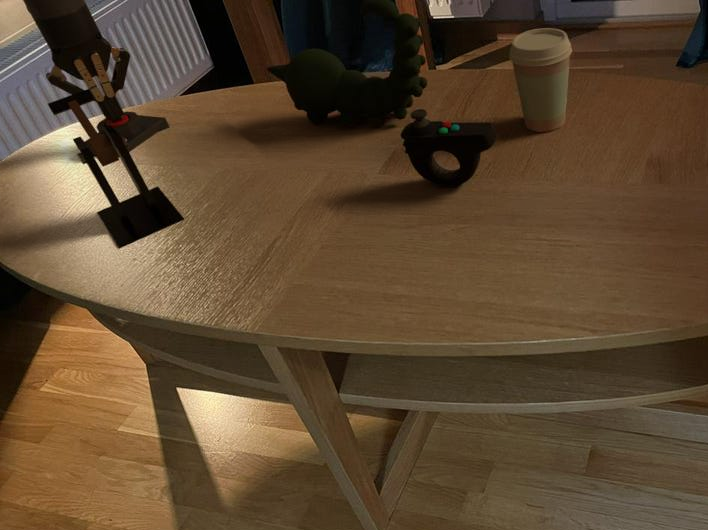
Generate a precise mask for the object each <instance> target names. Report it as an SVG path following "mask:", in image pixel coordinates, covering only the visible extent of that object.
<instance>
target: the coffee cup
mask: <svg viewBox="0 0 708 530" xmlns="http://www.w3.org/2000/svg"><path fill="white" fill-rule="evenodd" d="M572 52H573V48H572V43H571V41H570V40H569V37H568V34H567V33H566V31H564V30H561V29H560V28H559V29H558V28H553V27H545V28H544V27H542V28H534V29H530V30H526V31H523V32H520V33H519V34H517V35H515V36H514V37H513V39H512V41H511V45H510V49H509V55H508V56H509V57H508V58H509V60H510V61H511V63H512V67H513V68H512V69H513V71H514V72H513V73H514V77H515V82H516V87H517V92H518V96H519V101H520V106H521V110H522V115H523V119H524V123H525V127H526V128H527V129H528V130H530V131H532V132H537V133H546V132H552V131H555V130H558V129H559V128H561V127H563V125H564V124H565V123H566V115H567V100H568V85H569V73H570V72H569V70H570V57H571V56H570V55H572Z"/></svg>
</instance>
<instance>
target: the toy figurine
mask: <svg viewBox="0 0 708 530" xmlns="http://www.w3.org/2000/svg"><path fill="white" fill-rule="evenodd" d="M358 13H359V14H358V15H359V17H360V18H364V17H365V16H367V15H368V14H374V15H378V16H379V17H380V18H382V19H383V20H385V21H388V22H394V24H393V29H394V33H395V35H394V37H393V40H392V46H393V50H394V54H393V56H392V59H391V66H392V68H391V70H390V71H389V74H388V76H386V77H381V76H370V77H367V76H366V74H364V73H363V72H361V71H359V70H355V69H346V67H345V65H344V64H343V62H342V61H341V60H340V59H339V58H338V57H337V56H336V55H334V54H333V53H331V52H329V51H327V50H324V49H321V48H309V49H308V48H307V49H304V50H302V51H300V52H299V53H297V54H296V55H294V57H293V58H291V60H290V61H289V63H286V64H280V65H279V64H278V65H269V66H267V67H266V70H267V71H268V72H269V73H270V74H271V75H273V77H276V78H277V79H279V80H280V81H281V82H283V83H285V87H286V90H287V93H288V95H289V97H290V99H291V101H292V102H293V105H294V108H295V109H296V110H297V111H304V112H305V113H306V115H305V116H306V119H307V120H308V121H309V122H310V123H311V124H314V125H319V124H323V123H324V122H326V120H327V119H328V117H329V114H331V113H334V112H335V111H337V112H338V113H339V116H338V119H339V121H340V123H341V124H342V125H343V126H346V127H351V126H354V125H355V122H356V120H357V119H358V118H357V117H360V116H363V115H364V116H365V117H367V118H368V123H369V125H370V126H371V127H372V128H379V127H381V125H382V123H383V119H385V118H387V117H388V116H390V115H391V114H392V113H393V116H394V118H395V119H397V120H400V121H401V120H404V119H405V118H406V116H407V114H408V108H411V107H412V106H413V104H414V102H415V101H414V99H413V97H414V98H420V97H421V96H423V95H424V94H423V93H424V90H425V89H426V88H427V86H428V80H427V79H426V77H424V76H420V73H421V68H422V66H424V65H425V64H426V63H427V59H426V57H425V56H424V55H422V54H419V53H420V51H421V50H420V49H421V46H422V45H423V44H424V41H425V40H424V37H423V35H421V34H418V33H419V29H420V28H421V27H422V20H421V19H420V18H419V17H415V16H414V15H413V14H411V13H407V12H405V13H401V14H400V10H399V7H398V6H397V4H396V3H395V2H394V1H392V0H366V1H365V2H364V3H363V4H362V5H361V7H360V9H359V12H358Z"/></svg>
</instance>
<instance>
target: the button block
mask: <svg viewBox="0 0 708 530" xmlns="http://www.w3.org/2000/svg"><path fill="white" fill-rule="evenodd" d="M123 115H127V116H128V118H129V121H127V122H126V123H124V124H122V125H119V126H115V127H114V129H115V130H116V131H117V132H118V133H119V135H120V136H121V137H122V136H124V138H125V139H126V141H127V143H128V145H129V147H126V148H127V149H128V151H129V153H130V152H132V151H134V150H135V149H136V148H137V147H139V146H140V145H142V144H143V143H144V142H146V141H148V140H149V139H150V138H152V137H153V136H154V135H156V134H157V133H159V132H162V131H165V130H167V129H170V128H171V127H170V125H169V122H168V121H167V118H166V117H161V116H151V115H141V114H138V113H137V112H136V111H123ZM107 120H108V119H106V118H105V117H104V118H103V119H102V120H100V121H99V122H98V123H97V125H96V127H95V129H96V130H97V133H98V134H99V135H101V134H105V136H106V137H107V139H108V140H109V142H110V143H111V145H112V146H113V144H112V142H111V140H110V138H109V136H108V135H107V133H106V131H105V129H104V127H106V121H107ZM88 139H90V138H88ZM88 139H86V140H85V141H84V142H85V143H86V145H87V146H88V148H89V149H90V151H91V153H92V155H93V156H94V158H97V157H96V156H95V154H94V152H93V150H92V149H91V147H90V145H89V143H88V141H87V140H88ZM113 148H114V150H115V152H116V154H117V156H118V158H120V157H119V155H118V153H117V151H116V149H115V147H114V146H113Z"/></svg>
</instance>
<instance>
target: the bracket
mask: <svg viewBox="0 0 708 530" xmlns="http://www.w3.org/2000/svg"><path fill="white" fill-rule="evenodd" d="M104 129H105V131H106V133H107V135H108V136H109V138H110V140H111V142H112V144H113V146H114V147H115V149H116V151H117V153H118V155H119V157H118V158H119V160H121V162H122V164H123V166H124V167H125V170H126V171H127V173H128V175H129V177H130V179H131V181H132V183H133V184H134V186H135V189H136V190H137V192H138V193H139V194H137V195H134V196H132V197H130V198H127V199H124V200H122V201H119V199H118V196H117V195H116V193H115V192H114V190H113V188H112V186H111V184H110V183H109V180H107V178H106V176H105V174H104V173H103V171H102V168H101V167H100V165H99V163H98V161H97V160H96V159H95V158H96V157H94V156H93V155H92V153H91V151H90V149H89V148H88V146H87V145H86V143H85V141H84V139H83V138H82V136H78V137H75V138H73V139H72V141H73V142H74V144H75V146H76V148H77V149H78V151H79V152H78V153H76V156H77V157H78V159H79V161H80V162H81V164H82V165H85V164H86V165H87V167H88V168H89V170H90V172H91V174H92V175H93V177H94V179H95V180H96V182H97V184H98V185H99V187H100V189H101V191H102V192H103V194H104V196H105V198H106V200H107V201H108V203H109V205H110V206H108V207H105V208H103V209H101V210H98V211H97V212H96V214H97V215H98V217H99V218H100V220H101V222H102V223H103V225H104V226H105V228H106V229H107V231H108V233H109V234H110V236H111V237H112V239H113V240H114V242H115V244H116V246H117V247H118V249H122V248H124V247H126V246H129V245H131V244H133V243H135V242H138V241H141V240H142V239H144V238H147V237H149V236H151V235H154V234H156V233H158V232H160V231H162V230H164V229H167V228H169V227H172V226H174V225H176V224H179V223H180V222H182V221H185V218H184V216H183V215H182V214H181V212H179V210H178V209H177V208H176V207H175V205H174V204H173V203H172V202H171V201H170V200H169V198H168V197H167V195H166V194H165V193H164V192H163V190H162V189H161V188H160V187H159V186H155V187H153V188H150V189H149V187H148V185H147V184H146V182H145V179H144V178H143V176H142V174H141V172H140V170H139V168H138V167H137V165H136V163H135V161H134V159H133V157H132V155H131V153H130V152H129V151H128V149H127V148H126V147H129V145H128V143H127V141H126V139H125V138H124V136H122V137H121V136H120V135H119V133H118V132H117V131H116V130H115V129H114V127H113V126H112V125H109V126H106V127H104Z"/></svg>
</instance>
